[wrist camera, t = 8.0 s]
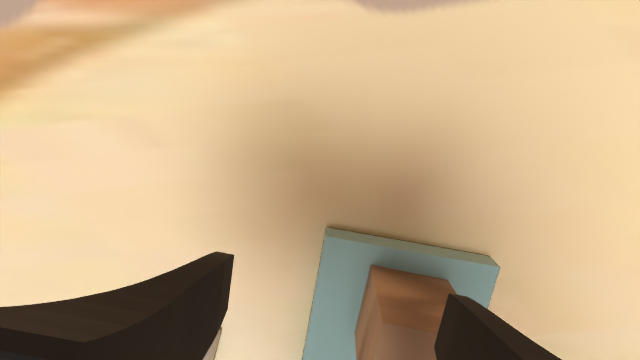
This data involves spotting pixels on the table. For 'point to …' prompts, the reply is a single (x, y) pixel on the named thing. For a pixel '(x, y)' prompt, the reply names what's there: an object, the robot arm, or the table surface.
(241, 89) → the table surface
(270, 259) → the table surface
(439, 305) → the walnut block
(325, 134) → the table surface
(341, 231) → the base board
